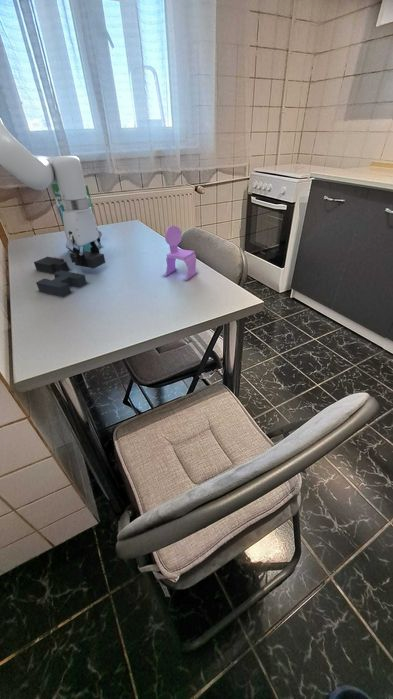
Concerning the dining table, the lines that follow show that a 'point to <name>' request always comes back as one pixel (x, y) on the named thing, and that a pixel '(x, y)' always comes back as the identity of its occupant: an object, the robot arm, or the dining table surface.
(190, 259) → the toy chair
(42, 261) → the pad
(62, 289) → the pad
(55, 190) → the milk carton
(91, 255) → the pad
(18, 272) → the dining table surface
